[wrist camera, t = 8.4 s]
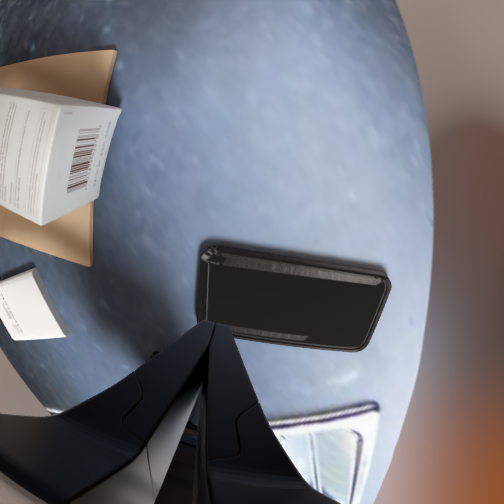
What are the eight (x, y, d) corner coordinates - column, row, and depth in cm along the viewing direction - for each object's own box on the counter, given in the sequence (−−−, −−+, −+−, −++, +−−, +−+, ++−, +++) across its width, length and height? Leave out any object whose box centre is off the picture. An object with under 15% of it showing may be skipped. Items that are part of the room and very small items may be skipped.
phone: (201, 246, 21) (395, 277, 21) (204, 241, 22) (390, 271, 22) (196, 332, 24) (363, 354, 24) (198, 324, 25) (361, 346, 25)
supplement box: (125, 107, 18) (21, 85, 16) (61, 103, 11) (-39, 87, 10) (100, 199, 21) (6, 161, 19) (40, 232, 14) (-51, 178, 13)
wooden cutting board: (93, 264, 23) (89, 267, 23) (-14, 228, 23) (-17, 229, 22) (117, 51, 16) (114, 49, 16) (-5, 69, 16) (-9, 69, 15)
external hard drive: (73, 329, 28) (20, 335, 30) (39, 264, 25) (-8, 283, 27) (66, 338, 26) (13, 341, 28) (30, 271, 23) (-16, 288, 25)
